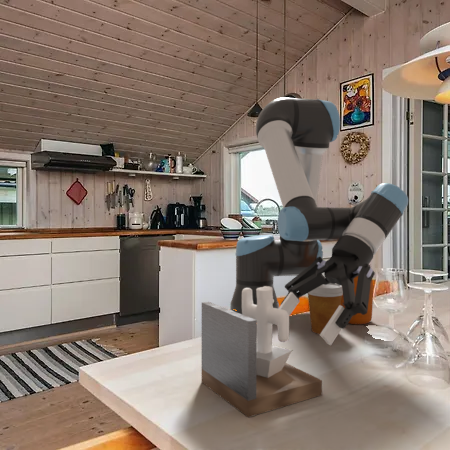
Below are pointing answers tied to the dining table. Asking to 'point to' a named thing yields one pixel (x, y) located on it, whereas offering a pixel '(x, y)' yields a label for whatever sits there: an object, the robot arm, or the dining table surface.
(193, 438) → the dining table surface
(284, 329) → the figurine
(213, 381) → the walnut shelf board
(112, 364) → the dining table surface
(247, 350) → the grey metal bookend
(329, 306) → the disposable coffee cup
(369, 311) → the wine bottle
